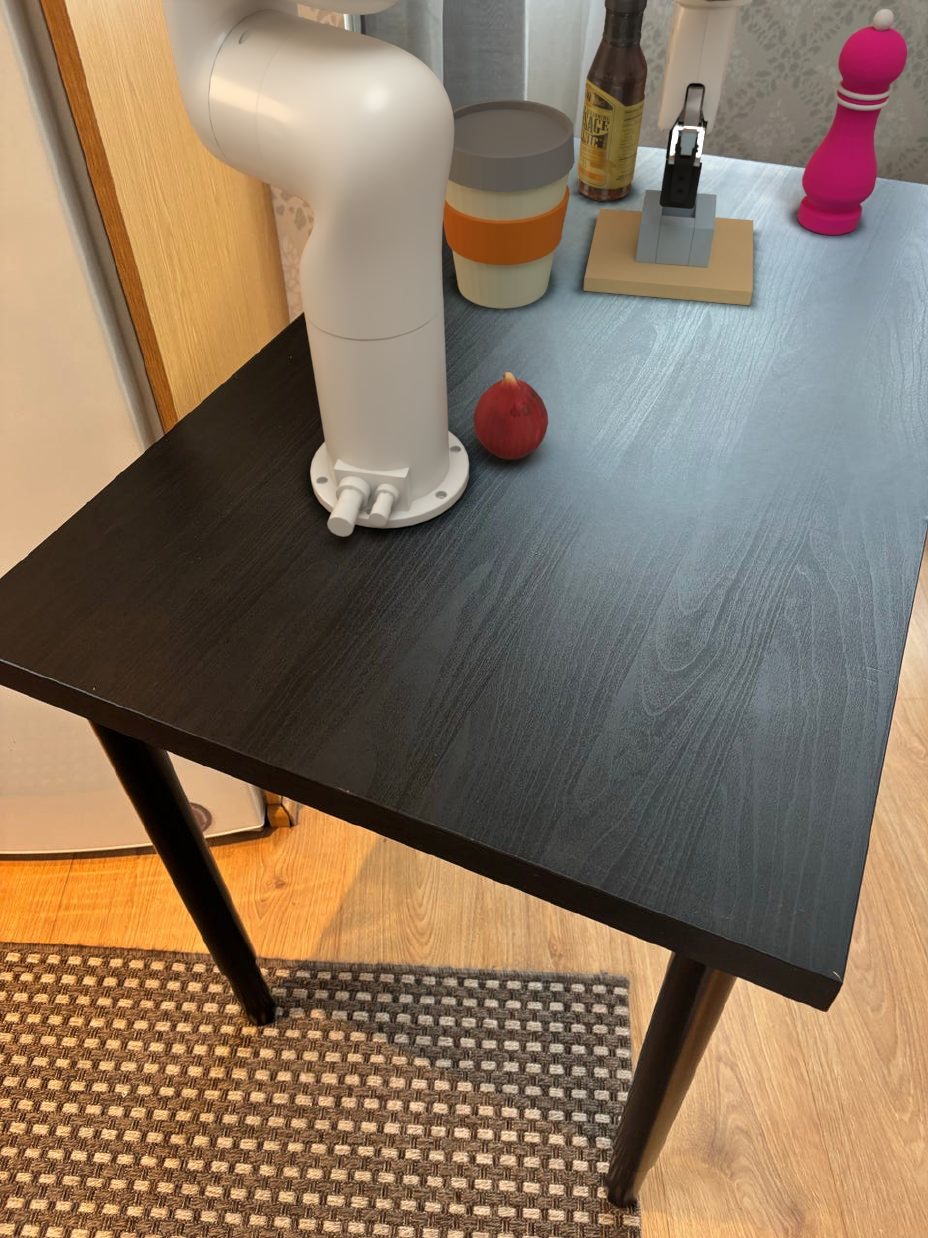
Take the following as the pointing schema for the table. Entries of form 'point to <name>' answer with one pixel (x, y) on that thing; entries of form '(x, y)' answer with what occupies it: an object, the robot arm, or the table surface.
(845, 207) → the pepper mill
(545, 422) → the onion
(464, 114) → the reusable coffee cup
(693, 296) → the base pad
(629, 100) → the sauce bottle
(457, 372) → the table surface
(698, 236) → the gray block
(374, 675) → the table surface
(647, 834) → the table surface
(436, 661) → the table surface
